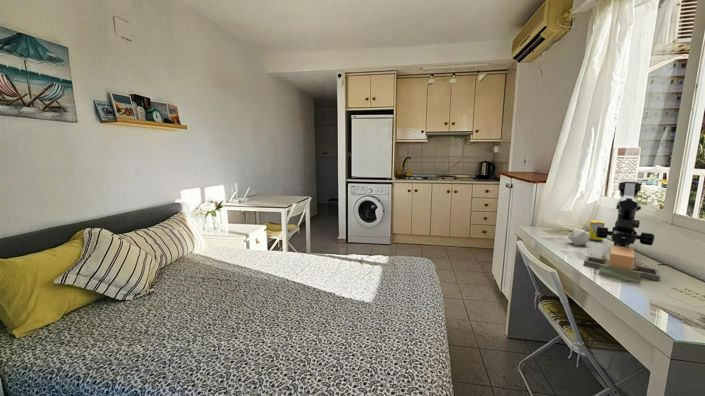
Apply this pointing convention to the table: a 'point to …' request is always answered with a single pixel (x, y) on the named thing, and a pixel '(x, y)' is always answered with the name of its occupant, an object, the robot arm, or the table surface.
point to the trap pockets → (645, 271)
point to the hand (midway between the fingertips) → (621, 251)
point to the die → (579, 237)
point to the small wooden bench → (620, 271)
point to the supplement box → (595, 229)
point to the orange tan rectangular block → (621, 257)
